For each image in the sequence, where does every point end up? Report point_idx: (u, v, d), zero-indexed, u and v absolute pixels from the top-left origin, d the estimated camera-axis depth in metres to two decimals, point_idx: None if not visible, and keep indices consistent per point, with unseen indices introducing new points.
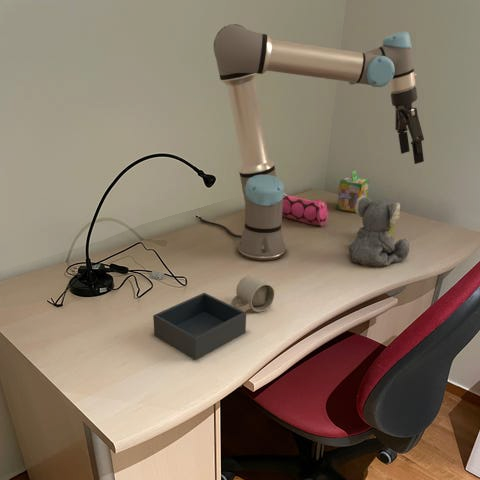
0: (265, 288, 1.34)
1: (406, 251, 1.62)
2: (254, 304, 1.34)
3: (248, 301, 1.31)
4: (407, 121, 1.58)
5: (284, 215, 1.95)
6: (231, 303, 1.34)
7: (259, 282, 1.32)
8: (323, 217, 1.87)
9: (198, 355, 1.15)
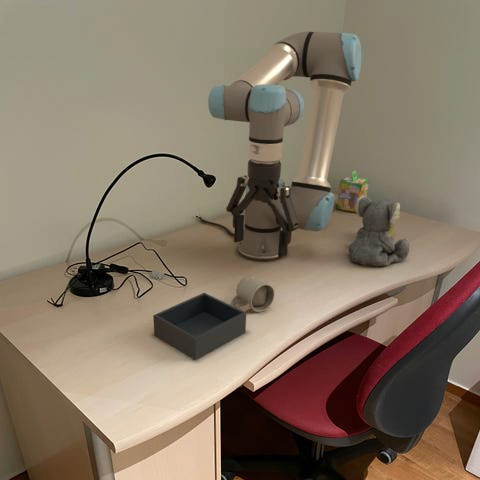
0: (265, 288, 1.34)
1: (406, 251, 1.62)
2: (254, 304, 1.34)
3: (248, 301, 1.31)
4: None
5: None
6: (231, 303, 1.34)
7: (259, 282, 1.32)
8: None
9: (198, 355, 1.15)
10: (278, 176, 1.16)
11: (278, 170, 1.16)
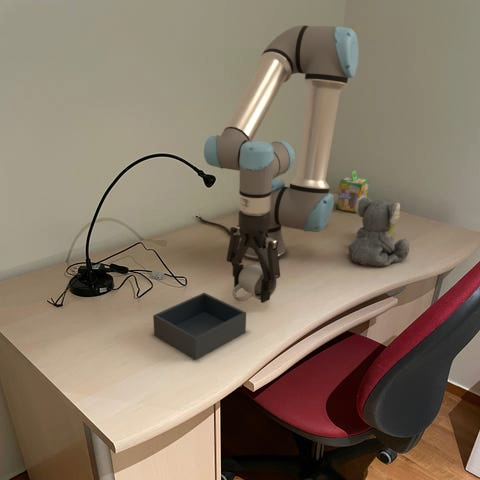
0: None
1: (406, 251, 1.62)
2: (256, 292, 1.33)
3: (250, 289, 1.30)
4: None
5: None
6: (233, 292, 1.33)
7: (261, 270, 1.30)
8: None
9: (198, 355, 1.15)
10: (267, 226, 1.23)
11: (267, 220, 1.22)
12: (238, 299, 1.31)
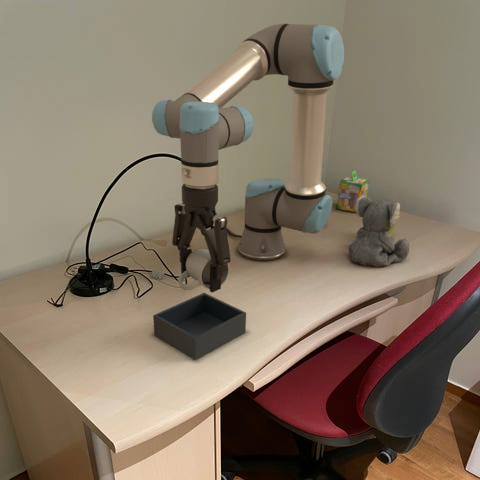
0: None
1: (406, 251, 1.62)
2: (206, 280, 1.16)
3: (198, 276, 1.13)
4: None
5: None
6: (179, 279, 1.16)
7: None
8: None
9: (198, 355, 1.15)
10: (214, 202, 1.06)
11: (213, 195, 1.05)
12: (184, 288, 1.14)
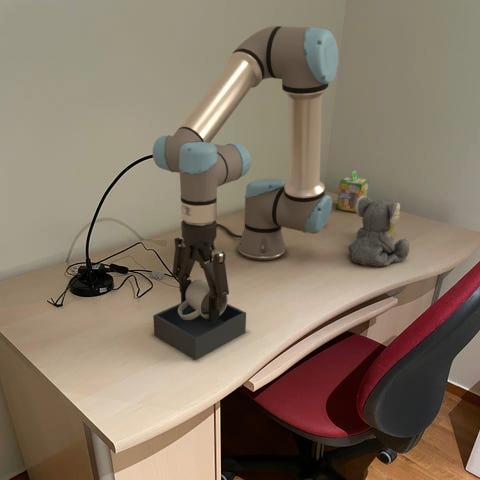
0: None
1: (406, 251, 1.62)
2: (205, 310, 1.19)
3: (197, 307, 1.16)
4: None
5: None
6: (179, 309, 1.19)
7: None
8: None
9: (198, 355, 1.15)
10: (213, 237, 1.09)
11: (212, 231, 1.08)
12: (183, 318, 1.18)
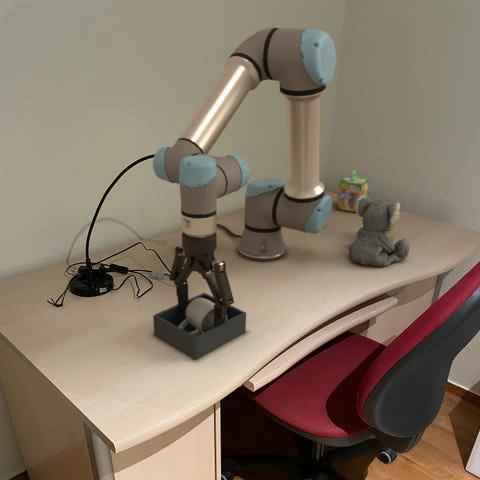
0: None
1: (406, 251, 1.62)
2: (205, 329, 1.22)
3: (197, 326, 1.19)
4: None
5: None
6: None
7: (209, 305, 1.20)
8: None
9: (198, 355, 1.15)
10: (213, 249, 1.11)
11: (212, 242, 1.10)
12: None
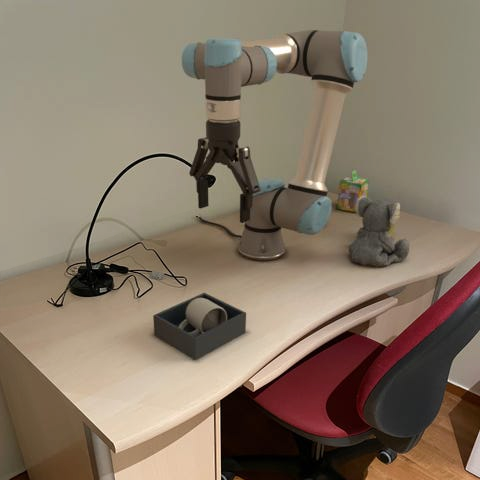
0: (216, 311, 1.21)
1: (406, 251, 1.62)
2: (205, 329, 1.22)
3: (197, 326, 1.19)
4: None
5: None
6: None
7: (209, 305, 1.20)
8: None
9: (198, 355, 1.15)
10: (237, 136, 1.12)
11: (236, 129, 1.11)
12: None
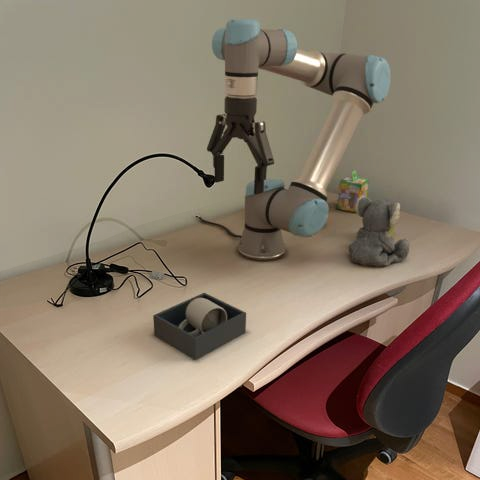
0: (216, 311, 1.21)
1: (406, 251, 1.62)
2: (205, 329, 1.22)
3: (197, 326, 1.19)
4: None
5: None
6: None
7: (209, 305, 1.20)
8: None
9: (198, 355, 1.15)
10: (253, 111, 1.19)
11: (253, 105, 1.19)
12: None
